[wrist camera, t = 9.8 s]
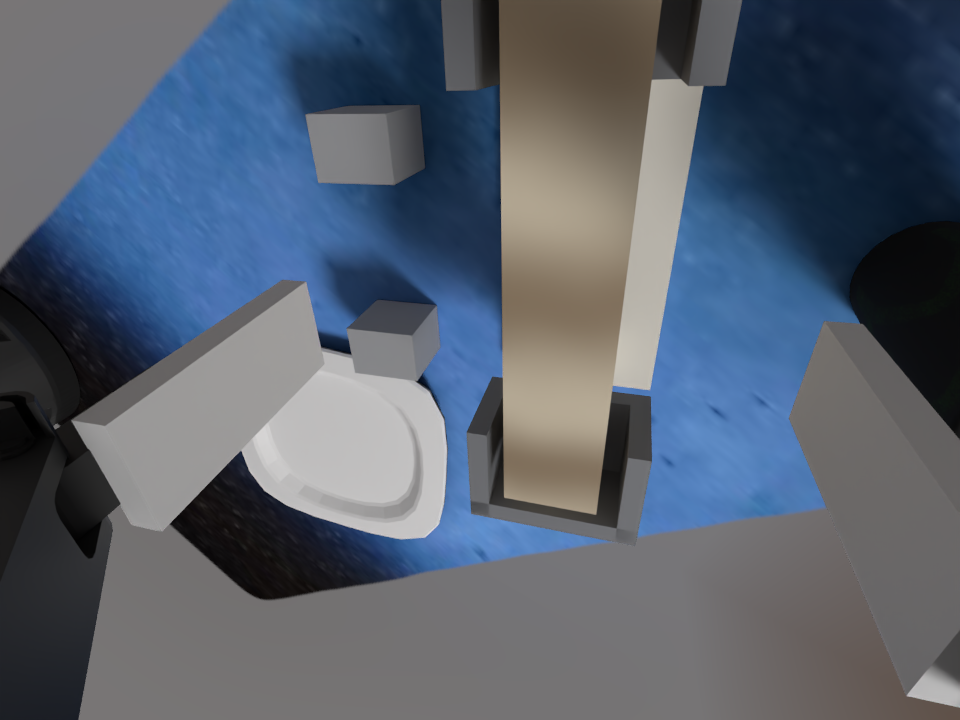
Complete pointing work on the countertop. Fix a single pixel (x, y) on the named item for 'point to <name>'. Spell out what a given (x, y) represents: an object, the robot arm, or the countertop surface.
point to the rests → (382, 161)
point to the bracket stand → (663, 175)
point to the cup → (917, 309)
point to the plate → (356, 451)
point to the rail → (567, 230)
